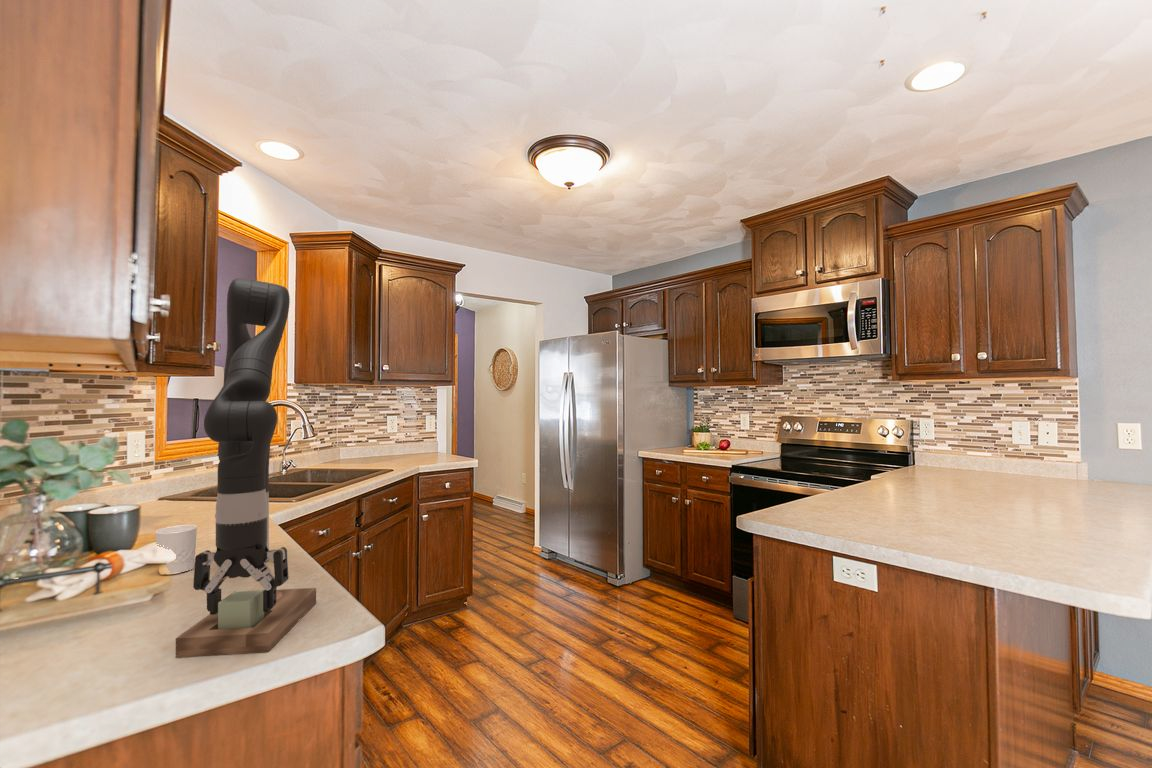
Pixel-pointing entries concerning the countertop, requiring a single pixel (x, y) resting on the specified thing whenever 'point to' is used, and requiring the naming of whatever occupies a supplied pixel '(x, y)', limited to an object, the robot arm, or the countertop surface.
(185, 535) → the white cup
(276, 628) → the puzzle board
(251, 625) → the green block
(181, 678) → the countertop surface
